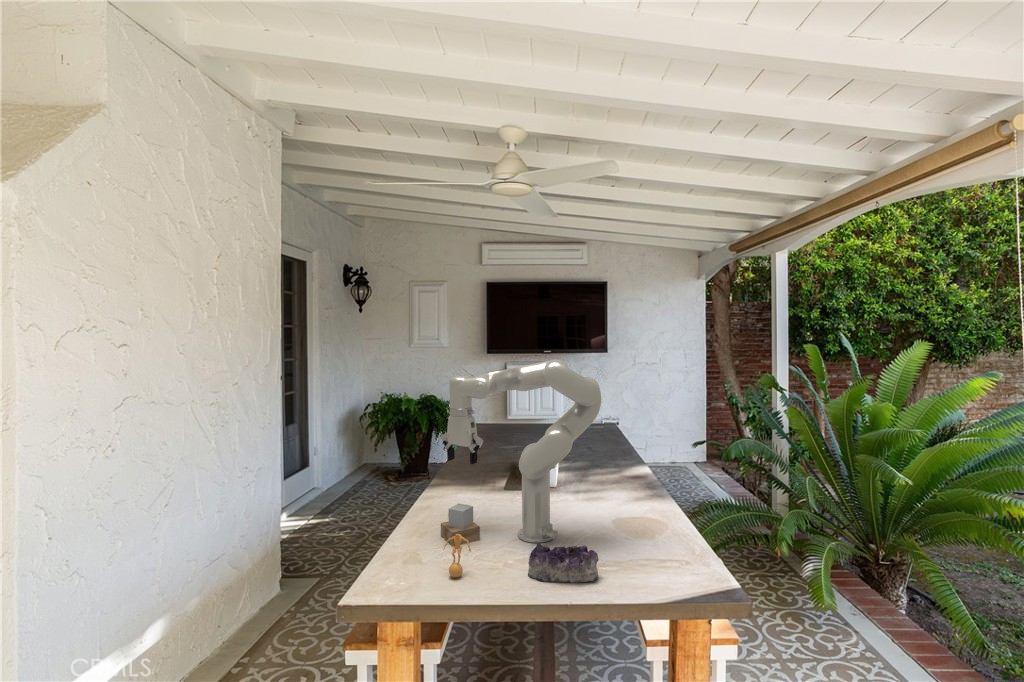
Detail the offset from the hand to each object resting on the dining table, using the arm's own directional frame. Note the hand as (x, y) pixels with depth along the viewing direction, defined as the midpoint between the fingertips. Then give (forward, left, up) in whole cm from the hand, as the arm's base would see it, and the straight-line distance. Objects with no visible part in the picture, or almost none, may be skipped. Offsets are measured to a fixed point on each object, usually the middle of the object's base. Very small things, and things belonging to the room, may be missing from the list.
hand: (462, 461), depth 194 cm
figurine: (-23, +21, -25) cm, 40 cm away
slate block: (-3, +3, -21) cm, 21 cm away
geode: (-45, 0, -26) cm, 52 cm away
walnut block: (-2, +3, -26) cm, 26 cm away
